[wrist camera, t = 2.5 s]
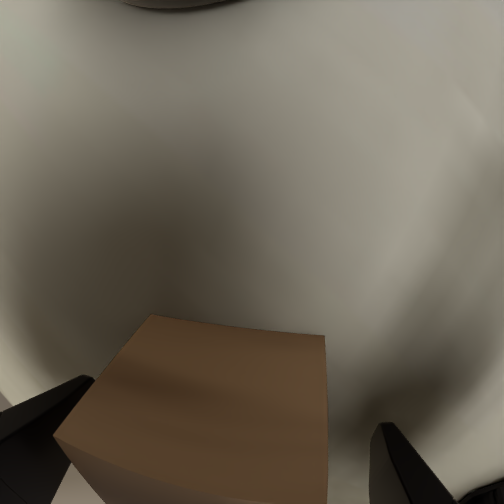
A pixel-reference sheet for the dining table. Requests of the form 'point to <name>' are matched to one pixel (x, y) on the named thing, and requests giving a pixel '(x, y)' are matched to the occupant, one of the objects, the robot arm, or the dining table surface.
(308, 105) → the dining table surface
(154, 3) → the supplement bottle
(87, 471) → the walnut cube
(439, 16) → the dining table surface
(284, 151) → the dining table surface
